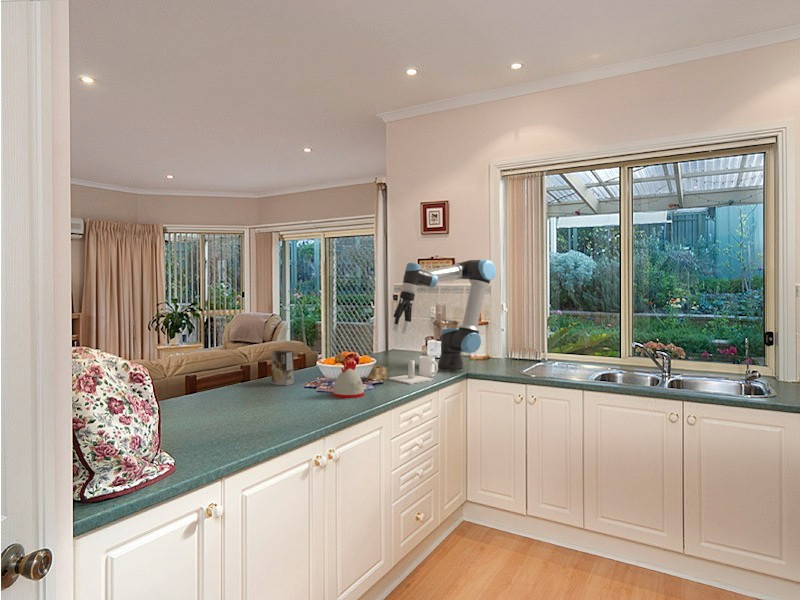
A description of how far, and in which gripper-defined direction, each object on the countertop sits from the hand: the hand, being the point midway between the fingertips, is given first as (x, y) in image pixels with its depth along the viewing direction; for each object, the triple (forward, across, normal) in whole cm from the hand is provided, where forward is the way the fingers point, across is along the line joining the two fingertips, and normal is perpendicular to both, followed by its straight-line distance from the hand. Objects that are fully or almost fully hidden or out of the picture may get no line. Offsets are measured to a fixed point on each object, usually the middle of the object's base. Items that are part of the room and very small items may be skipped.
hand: (399, 332), depth 271 cm
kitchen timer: (+33, +40, -3) cm, 52 cm away
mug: (+20, -15, +16) cm, 30 cm away
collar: (+26, +2, -7) cm, 27 cm away
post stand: (+23, -2, +11) cm, 25 cm away
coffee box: (+37, +31, -42) cm, 65 cm away
